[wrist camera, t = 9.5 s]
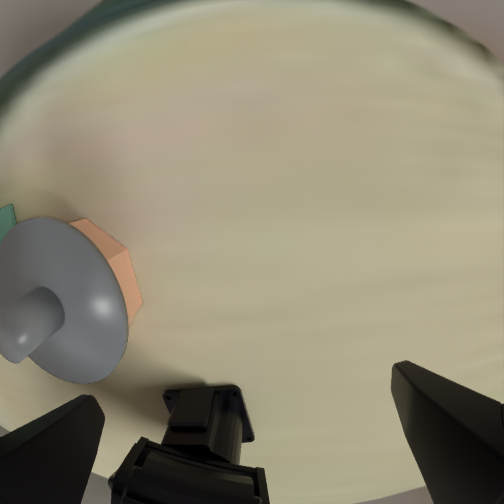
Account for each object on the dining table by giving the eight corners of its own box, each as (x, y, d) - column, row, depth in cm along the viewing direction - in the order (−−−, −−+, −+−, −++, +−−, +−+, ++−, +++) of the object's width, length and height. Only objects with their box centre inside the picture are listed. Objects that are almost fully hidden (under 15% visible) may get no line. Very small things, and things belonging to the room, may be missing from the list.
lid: (154, 377, 18) (124, 433, 12) (36, 374, 19) (1, 410, 13) (97, 194, 15) (34, 204, 10) (-14, 237, 16) (-64, 254, 11)
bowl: (154, 336, 21) (135, 365, 17) (63, 342, 22) (38, 365, 18) (118, 208, 19) (87, 216, 15) (28, 237, 20) (-5, 248, 16)
